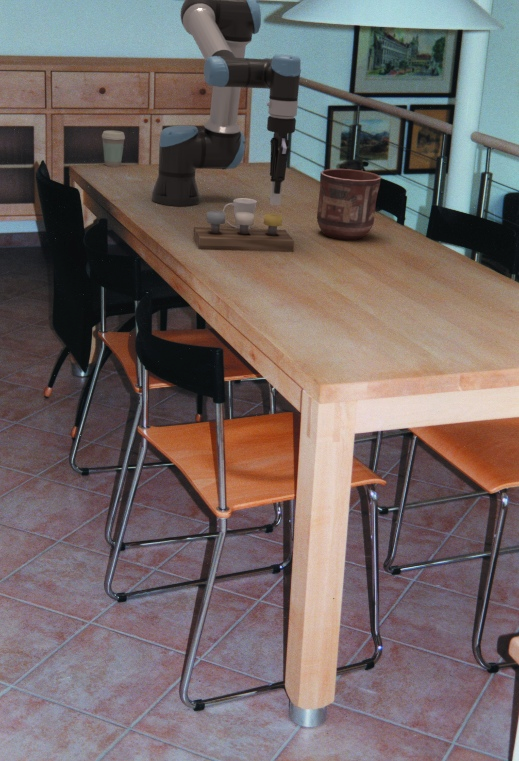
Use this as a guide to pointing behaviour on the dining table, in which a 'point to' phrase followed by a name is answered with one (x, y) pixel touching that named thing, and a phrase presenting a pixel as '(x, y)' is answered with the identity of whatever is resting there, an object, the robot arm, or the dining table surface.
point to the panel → (243, 239)
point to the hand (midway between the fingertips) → (274, 204)
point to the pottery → (347, 203)
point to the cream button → (244, 221)
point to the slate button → (215, 220)
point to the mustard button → (273, 222)
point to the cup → (242, 207)
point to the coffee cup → (113, 147)
